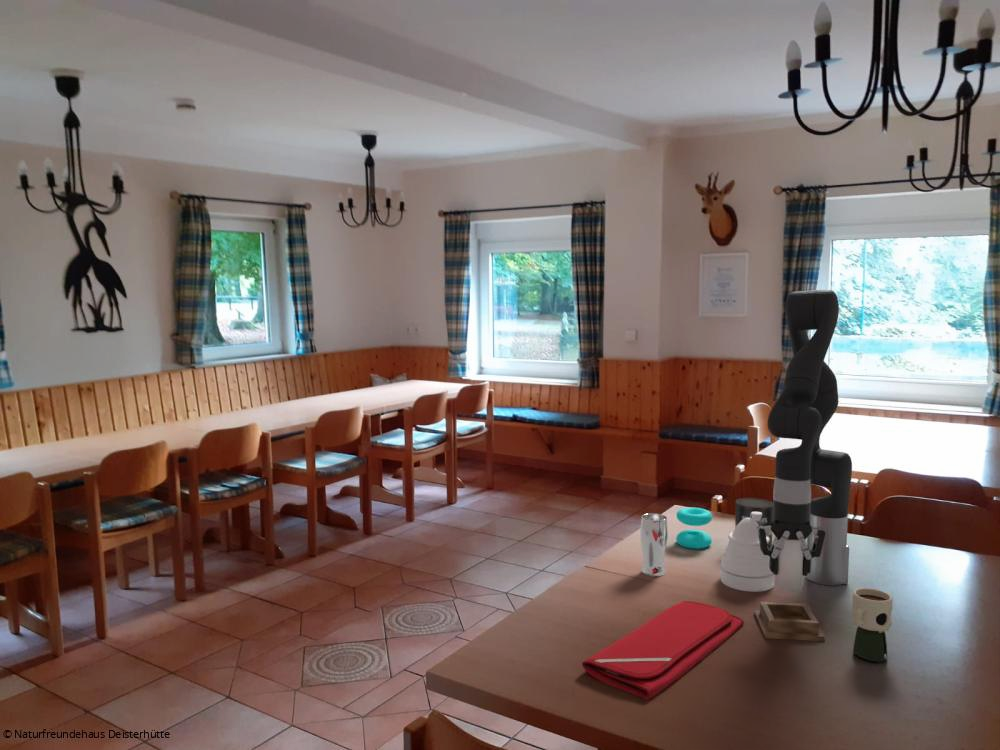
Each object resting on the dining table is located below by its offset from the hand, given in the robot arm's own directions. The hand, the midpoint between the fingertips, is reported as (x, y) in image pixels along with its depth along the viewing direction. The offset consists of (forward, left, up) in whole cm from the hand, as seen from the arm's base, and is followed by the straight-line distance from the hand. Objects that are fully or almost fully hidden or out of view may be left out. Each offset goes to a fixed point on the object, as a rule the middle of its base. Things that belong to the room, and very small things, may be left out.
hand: (789, 573), depth 164 cm
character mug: (-13, +12, -12) cm, 22 cm away
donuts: (+14, -54, -12) cm, 57 cm away
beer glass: (+27, -30, -12) cm, 42 cm away
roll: (0, -1, -3) cm, 3 cm away
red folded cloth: (+27, +13, -13) cm, 32 cm away
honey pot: (+4, -26, -12) cm, 29 cm away
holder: (0, 0, -12) cm, 12 cm away
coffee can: (-2, -50, -12) cm, 52 cm away
